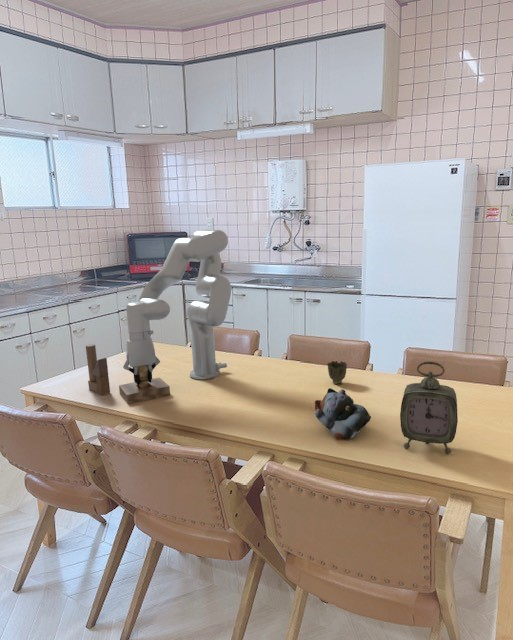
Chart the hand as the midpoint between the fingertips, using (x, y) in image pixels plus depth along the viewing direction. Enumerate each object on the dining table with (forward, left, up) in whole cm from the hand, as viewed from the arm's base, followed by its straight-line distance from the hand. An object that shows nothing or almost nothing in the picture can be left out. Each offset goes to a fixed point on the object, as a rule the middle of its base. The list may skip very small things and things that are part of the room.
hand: (143, 382), depth 184 cm
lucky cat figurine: (-43, +65, -5) cm, 78 cm away
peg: (0, 0, -3) cm, 3 cm away
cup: (-67, +31, -5) cm, 74 cm away
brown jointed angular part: (+14, -14, -5) cm, 20 cm away
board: (0, 0, -5) cm, 5 cm away
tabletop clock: (-56, +86, -5) cm, 103 cm away
